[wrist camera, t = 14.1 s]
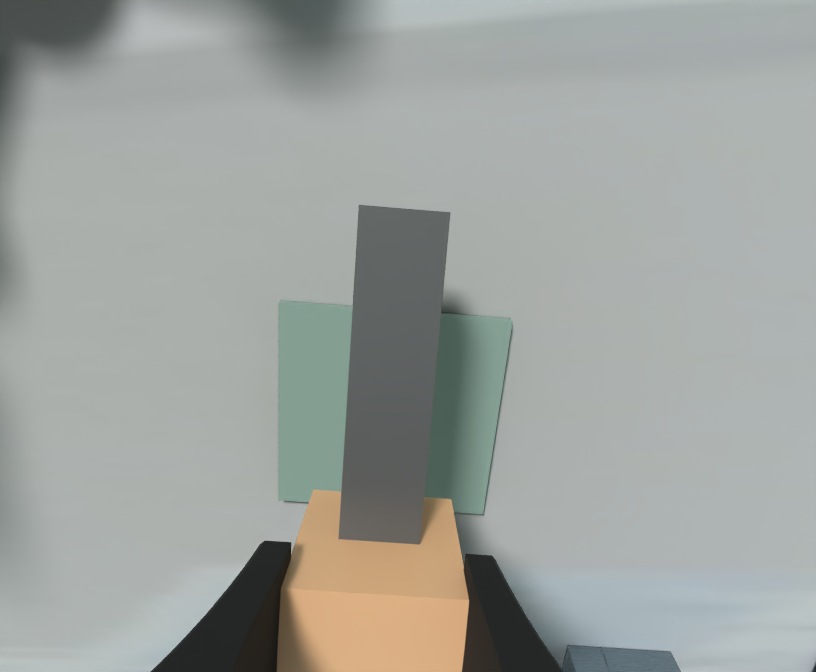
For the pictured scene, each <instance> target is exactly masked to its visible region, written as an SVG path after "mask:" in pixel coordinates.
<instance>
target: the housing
mask: <svg viewBox="0 0 816 672" xmlns="http://www.w3.org/2000/svg"><path fill="white" fill-rule="evenodd" d="M562 671H563V672H681V671H680V669H679V667H678V665H677V663H676V661H675V659H674V657H673V655H672V653H671V652H665V651H649V650H633V649H617V648H601V647H585V646H569V645H568V647H567V651H566V655H565V660H564V664H563V668H562Z"/></svg>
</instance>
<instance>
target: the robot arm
mask: <svg viewBox="0 0 816 672" xmlns="http://www.w3.org/2000/svg"><path fill="white" fill-rule="evenodd" d="M290 560H291V542H276V541H264V542H263V543H261V544H260V545H259V547H258V548H257V550H256V551H255V553H254V554H253V555H252V557H251V558H250V560H249V561H248V562H247V564H246V565H245V567H244V568H243V569H242V571H241V572H240V573H239V575H238V576H237V577H236V578H235V580H234V581H233V582H232V584H231V585H230V586H229V587H228V589H227V590H226V591H225V592H224V593H223V595H222V596H221V597H220V598H219V600H218V601H217V602H216V603H215V604H214V606H213V607H212V608H211V609H210V610H209V611H208V613H207V614H206V615H205V616H204V617H203V618H202V619H201V620H200V622H199V623H198V624H197V625H196V626H195V627H194V628H193V629H192V630H191V631H190V632H189V634H188V635H187V636H186V637H185V638H184V639H183V640H182V641H181V642H180V643H179V644H178V645H177V646H176V647H175V648H174V649H173V650H172V651H171V652H170V653H169V654H168V655H167V656H166V657H165V658H164V659H163V660H162V661H161V662H160V663H159V664H158V665H157V666H156V667H155V668H154V669H153V670H152V671H151V672H277V651H278V631H279V614H280V596H281V587H282V584H283V581H284V578H285V575H286V572H287V569H288V566H289V563H290ZM464 575H465V581H466V586H467V592H468V597H469V607H468V618H467V628H466V639H465V649H464V658H463V667H462V672H563V671H562V669H561V668H560V666H559V665H558V663H557V662H556V661H555V659H554V658H553V656H552V655H551V654H550V652H549V651H548V649H547V648H546V646H545V645H544V643H543V642H542V640H541V639H540V637H539V636H538V634H537V632H536V631H535V629H534V628H533V626H532V624H531V623H530V621H529V620H528V618H527V616H526V615H525V613H524V612H523V610H522V608H521V607H520V605H519V603H518V601H517V600H516V598H515V596H514V594H513V593H512V591H511V589H510V587H509V585H508V583H507V582H506V580H505V578H504V576H503V574H502V572H501V570H500V568H499V566H498V564H497V562H496V560H495V559H494V558H493V556H488V555H473V554H466V556H465V563H464Z"/></svg>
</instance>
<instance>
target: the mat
mask: <svg viewBox="0 0 816 672" xmlns="http://www.w3.org/2000/svg"><path fill="white" fill-rule="evenodd" d="M352 311H353V306H345V305H332V304H320V303H307V302H294V301H280V303H279V500H280V501H295V502H309V501H310V498H311V495H312V492H313V490H327V491H341V489H342V473H343V457H344V440H345V424H346V408H347V392H348V376H349V359H350V343H351V327H352ZM511 329H512V320H511V318H500V317H487V316H474V315H461V314H448V313H441V319H440V330H439V341H438V352H437V362H436V373H435V384H434V395H433V406H432V417H431V428H430V439H429V450H428V460H427V471H426V482H425V493H424V497H429V498H443V499H451V500H452V505H453V511H454V512H457V513H471V514H483V511H484V504H485V498H486V491H487V485H488V478H489V472H490V465H491V459H492V452H493V446H494V439H495V433H496V426H497V420H498V413H499V407H500V400H501V394H502V387H503V381H504V374H505V368H506V361H507V355H508V348H509V342H510V335H511Z"/></svg>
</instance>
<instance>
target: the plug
mask: <svg viewBox="0 0 816 672" xmlns="http://www.w3.org/2000/svg"><path fill="white" fill-rule="evenodd" d="M449 221H450V212H438V211H426V210H414V209H401V208H389V207H377V206H365V205H359V214H358V230H357V246H356V262H355V279H354V295H353V311H352V327H351V343H350V359H349V376H348V392H347V408H346V424H345V440H344V457H343V473H342V489H341V491H327V490H313V492H312V495H311V498H310V501H309V504H308V507H307V510H306V513H305V516H304V519H303V522H302V525H301V528H300V531H299V533H298V536H297V539H296V542H295V545H294V548H293V551H292V554H291V560H290V563H289V566H288V569H287V572H286V575H285V578H284V581H283V584H282V587H281V596H280V614H279V631H278V651H277V672H462V667H463V658H464V649H465V639H466V628H467V618H468V607H469V597H468V592H467V586H466V581H465V575H464V565H463V560H462V554H461V549H460V543H459V538H458V533H457V527H456V522H455V516H454V511H453V505H452V500H451V499H443V498H429V497H424V493H425V482H426V471H427V460H428V450H429V439H430V428H431V417H432V406H433V395H434V384H435V373H436V362H437V352H438V341H439V330H440V319H441V308H442V297H443V286H444V275H445V265H446V254H447V243H448V232H449Z"/></svg>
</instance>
